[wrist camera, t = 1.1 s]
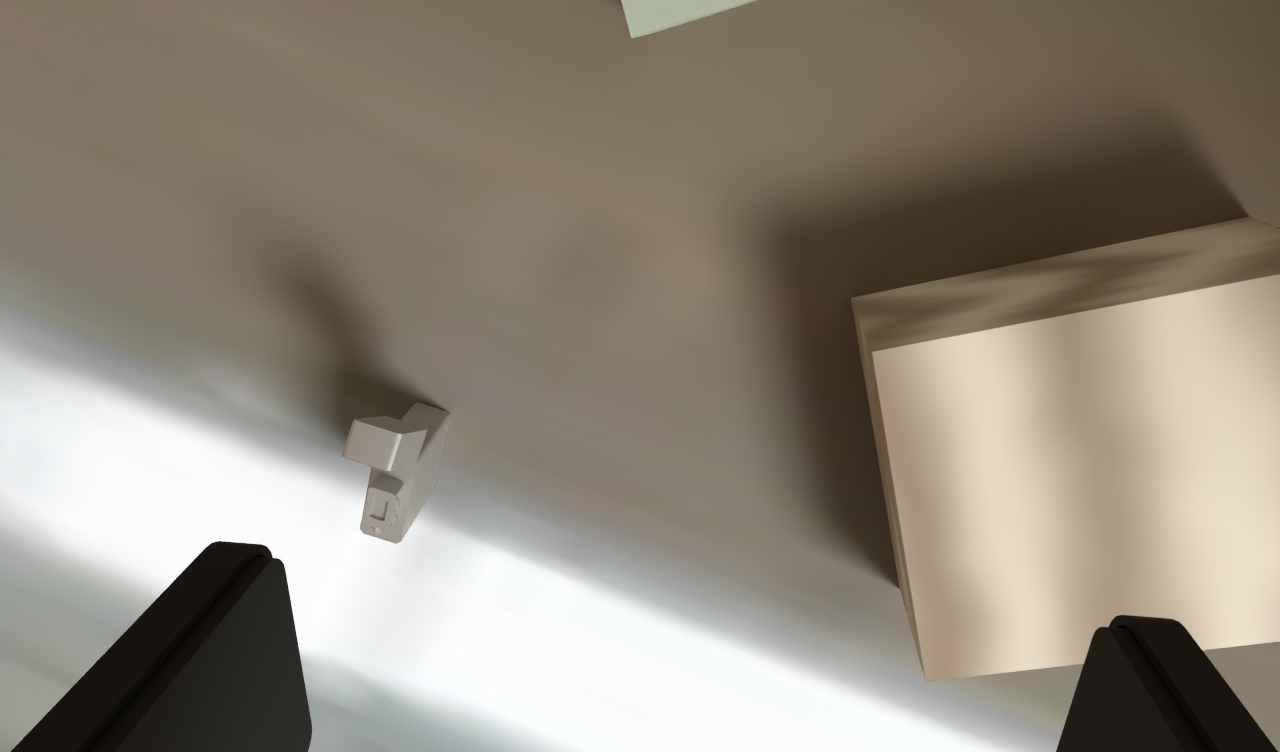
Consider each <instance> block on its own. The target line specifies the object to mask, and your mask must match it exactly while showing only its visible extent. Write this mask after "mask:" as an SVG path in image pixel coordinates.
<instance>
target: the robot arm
mask: <svg viewBox="0 0 1280 752" xmlns="http://www.w3.org/2000/svg"><path fill="white" fill-rule="evenodd" d="M311 735H312V724H311V718H310V712H309V706H308V700H307V695H306V689H305V683H304V677H303V671H302V666H301V660H300V654H299V648H298V642H297V636H296V631H295V625H294V619H293V613H292V607H291V601H290V596H289V590H288V584H287V578H286V572H285V568H284V564H283V563H282V561H281V560H280V559H277V558H272V554H271V552H270V550H269V549H268V548H267V547H266V546H264V545H259V544H246V543H234V542H222V541H218V542H214V543H211V544H210V545H209V546H208V547H206V548H205V549H204V550H203V551H202V552H201V553H200V554H199V556H198V557H197V558H196V559H195V560H194V561H193V562H192V563H191V564H190V565H189V566H188V567H187V568H186V569H185V570H184V571H183V572H182V573H181V574H180V575H179V576H178V577H177V578H176V580H175V581H174V582H173V583H172V584H171V585H170V586H169V587H168V588H167V589H166V590H165V591H164V592H163V593H162V594H161V595H160V596H159V597H158V598H157V599H156V600H155V601H154V603H153V604H152V605H151V606H150V607H149V608H148V609H147V610H146V611H145V612H144V613H143V614H142V615H141V616H140V617H139V618H138V619H137V620H136V621H135V622H134V623H133V624H132V626H131V627H130V628H129V629H128V630H127V631H126V632H125V633H124V634H123V635H122V636H121V637H120V638H119V639H118V640H117V641H116V642H115V643H114V644H113V645H112V646H111V647H110V648H109V650H108V651H107V652H106V653H105V654H104V655H103V656H102V657H101V658H100V659H99V660H98V661H97V662H96V663H95V664H94V665H93V666H92V667H91V668H90V669H89V670H88V671H87V673H86V674H85V675H84V676H83V677H82V678H81V679H80V680H79V681H78V682H77V683H76V684H75V685H74V686H73V687H72V688H71V689H70V690H69V691H68V692H67V693H66V694H65V696H64V697H63V698H62V699H61V700H60V701H59V702H58V703H57V704H56V705H55V706H54V707H53V708H52V709H51V710H50V711H49V712H48V713H47V714H46V715H45V716H44V717H43V718H42V720H41V721H40V722H39V723H38V724H37V725H36V726H35V727H34V728H33V729H32V730H31V731H30V732H29V733H28V734H27V735H26V736H25V737H24V738H23V739H22V740H21V741H20V743H19V744H18V745H17V746H16V747H15V748H14V749H13V750H12V751H11V752H308V749H309V746H310V741H311ZM1056 752H1278V751H1277V750H1276V749H1275V747H1274V746H1273V744H1272V743H1271V742H1270V740H1269V739H1268V738H1267V736H1266V735H1265V734H1264V732H1263V731H1262V730H1261V728H1260V727H1259V726H1258V724H1257V723H1256V722H1255V720H1254V719H1253V718H1252V716H1251V715H1250V714H1249V712H1248V711H1247V710H1246V708H1245V707H1244V706H1243V704H1242V703H1241V702H1240V700H1239V699H1238V698H1237V696H1236V695H1235V694H1234V692H1233V691H1232V690H1231V688H1230V687H1229V686H1228V684H1227V683H1226V682H1225V680H1224V679H1223V678H1222V676H1221V675H1220V673H1219V672H1218V671H1217V669H1216V668H1215V667H1214V665H1213V664H1212V663H1211V661H1210V660H1209V659H1208V657H1207V656H1206V655H1205V653H1204V652H1203V651H1202V649H1201V648H1200V647H1199V645H1198V644H1197V643H1196V641H1195V640H1194V639H1193V637H1192V636H1191V635H1190V633H1189V632H1188V631H1187V629H1186V628H1185V627H1184V626H1183V625H1182V624H1181V623H1180V622H1179V621H1176V620H1174V619H1168V618H1156V617H1143V616H1131V615H1119V616H1116V617H1115V618H1114V619H1113V620H1112V621H1111V623H1110V625H1109V627H1099V628H1098V629H1097V630H1096V631H1095V633H1094V635H1093V637H1092V640H1091V643H1090V646H1089V650H1088V653H1087V656H1086V659H1085V662H1084V665H1083V669H1082V672H1081V675H1080V678H1079V681H1078V684H1077V687H1076V691H1075V694H1074V697H1073V700H1072V703H1071V706H1070V710H1069V713H1068V716H1067V719H1066V722H1065V725H1064V729H1063V732H1062V735H1061V738H1060V741H1059V744H1058V748H1057V751H1056Z"/></svg>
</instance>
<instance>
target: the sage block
mask: <svg viewBox="0 0 1280 752" xmlns="http://www.w3.org/2000/svg"><path fill="white" fill-rule="evenodd" d="M754 1H757V0H621V2H622V5H623V9H624V13H625V16H626V20H627V24H628V27H629V31H630V35H631V38H635V37H639V36H643V35H647V34H651V33H655V32H658V31H662V30H665V29H668V28H671V27H674V26H677V25H681V24H684V23H687V22H690V21H693V20H696V19H700V18H703V17H706V16H709V15H712V14H715V13H719V12H722V11H725V10H728V9H731V8H734V7H738V6H741V5H744V4H747V3H750V2H754Z"/></svg>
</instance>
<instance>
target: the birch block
mask: <svg viewBox="0 0 1280 752" xmlns="http://www.w3.org/2000/svg"><path fill="white" fill-rule="evenodd" d="M851 302H852V308H853V314H854V320H855V326H856V332H857V338H858V344H859V350H860V356H861V362H862V367H863V373H864V379H865V385H866V391H867V397H868V403H869V409H870V415H871V421H872V427H873V433H874V439H875V444H876V450H877V456H878V462H879V468H880V474H881V480H882V486H883V492H884V498H885V504H886V510H887V516H888V521H889V527H890V533H891V539H892V545H893V551H894V557H895V563H896V569H897V575H898V581H899V587H900V591H901V595H902V598H903V602H904V605H905V609H906V613H907V616H908V620H909V623H910V627H911V630H912V634H913V638H914V641H915V645H916V648H917V652H918V655H919V659H920V663H921V666H922V670H923V673H924V677H925V680H926V681H934V680H943V679H952V678H961V677H969V676H978V675H987V674H996V673H1005V672H1014V671H1022V670H1031V669H1040V668H1049V667H1058V666H1066V665H1075V664H1084V662H1085V659H1086V656H1087V653H1088V650H1089V646H1090V643H1091V640H1092V637H1093V635H1094V633H1095V631H1096V630H1097V629H1098V628H1099V627H1109V625H1110V623H1111V621H1112V620H1113V619H1114V618H1115V617H1116V616H1119V615H1131V616H1143V617H1156V618H1168V619H1174V620H1176V621H1179V622H1180V623H1181V624H1182V625H1183V626H1184V627H1185V628H1186V629H1187V631H1188V632H1189V633H1190V635H1191V636H1192V637H1193V639H1194V640H1195V641H1196V643H1197V644H1198V645H1199V647H1200V648H1201V649H1202V650H1207V649H1216V648H1225V647H1234V646H1243V645H1251V644H1260V643H1269V642H1278V641H1280V229H1279V228H1277V227H1274V226H1272V225H1269V224H1267V223H1264V222H1262V221H1259V220H1257V219H1254V218H1252V217H1245V218H1240V219H1235V220H1230V221H1226V222H1221V223H1216V224H1211V225H1206V226H1201V227H1196V228H1191V229H1186V230H1181V231H1176V232H1172V233H1167V234H1162V235H1157V236H1152V237H1147V238H1142V239H1137V240H1132V241H1127V242H1123V243H1118V244H1113V245H1108V246H1103V247H1098V248H1093V249H1088V250H1083V251H1078V252H1073V253H1069V254H1064V255H1059V256H1054V257H1049V258H1044V259H1039V260H1034V261H1029V262H1024V263H1020V264H1015V265H1010V266H1005V267H1000V268H995V269H990V270H985V271H980V272H975V273H970V274H966V275H961V276H956V277H951V278H946V279H941V280H936V281H931V282H926V283H921V284H917V285H912V286H907V287H902V288H897V289H892V290H887V291H882V292H877V293H872V294H867V295H863V296H858V297H853V298H851Z"/></svg>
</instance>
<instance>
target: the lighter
mask: <svg viewBox="0 0 1280 752" xmlns="http://www.w3.org/2000/svg"><path fill="white" fill-rule="evenodd" d="M450 421H451V415H450V413H449V412H448V411H445V410H441V409H438V408H435V407H432V406H429V405H426V404H422V403H419V402H417V403H415V404H413V405H412V407H411V408H410V409H409V410H408V411H407V413H406V414H405V415H404V416H403V417H402V419H401V420H397V419H394V418H391V417H387V416H379V417H369V418H359V419H354V420H353V423H352V426H351V429H350V432H349V435H348V438H347V441H346V444H345V447H344V450H343V453H342V457H344V458H347V459H350V460H353V461H356V462H360V463H363V464H366V465H369V466H372V467H371V473H370V478H369V483H368V489H367V494H366V500H365V505H364V510H363V516H362V521H361V526H360V529H361V531H362V532H363V533H364V534H367V535H370V536H374V537H377V538H380V539H383V540H387V541H390V542H393V543H398V542H401V541H402V539H403V537H404V536H405V534H406V533H407V531H408V529H409V528H410V526H411V525H412V523H413V522H414V520H415V518H416V517H417V515H418V514H419V512H420V511H421V509H422V507H423V506H424V504H425V503H426V501H427V500H428V498H429V496H430V495H431V493H432V492H433V490H434V488H435V487H436V482H437V478H438V474H439V469H440V465H441V460H442V456H443V452H444V447H445V443H446V438H447V434H448V430H449V425H450Z"/></svg>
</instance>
